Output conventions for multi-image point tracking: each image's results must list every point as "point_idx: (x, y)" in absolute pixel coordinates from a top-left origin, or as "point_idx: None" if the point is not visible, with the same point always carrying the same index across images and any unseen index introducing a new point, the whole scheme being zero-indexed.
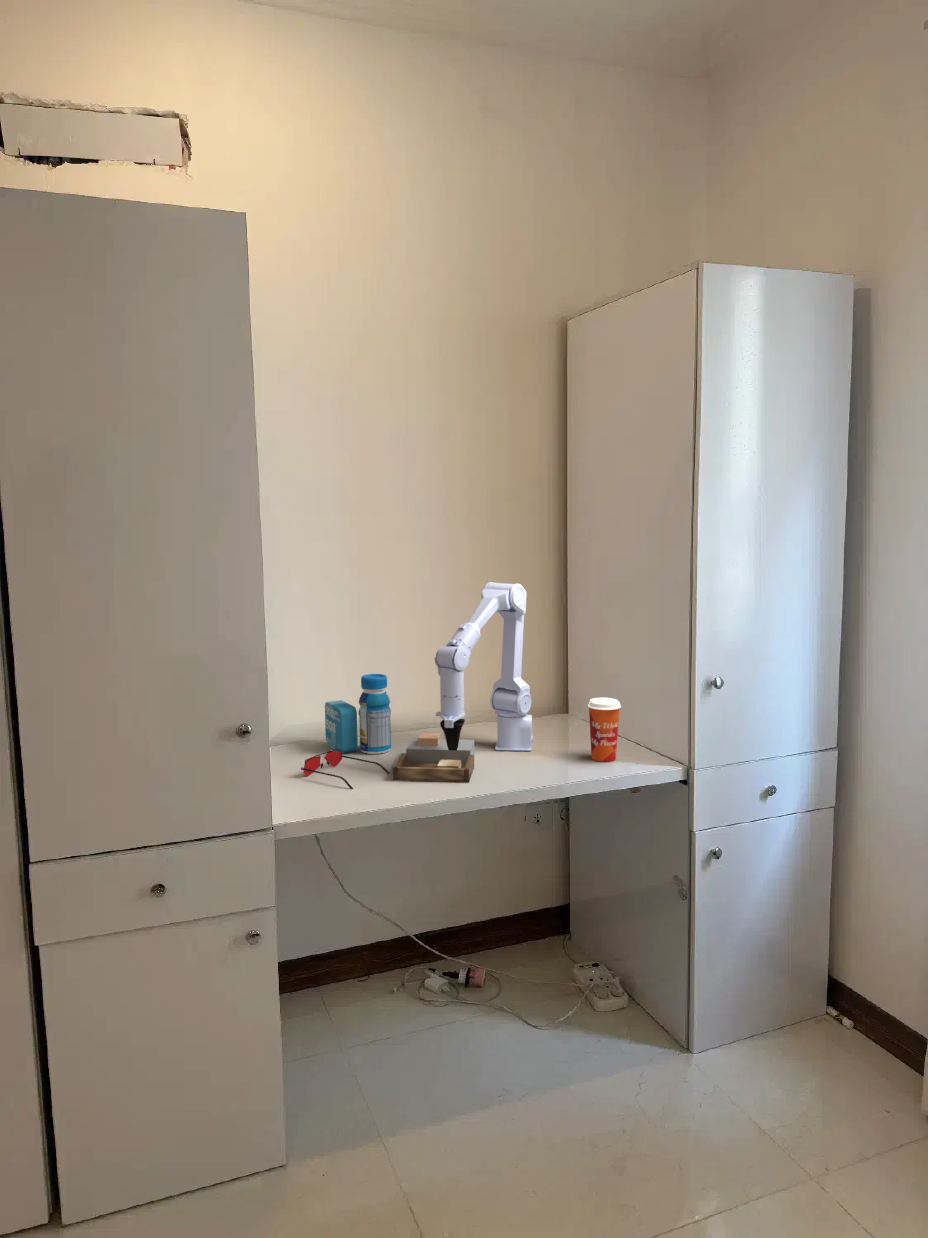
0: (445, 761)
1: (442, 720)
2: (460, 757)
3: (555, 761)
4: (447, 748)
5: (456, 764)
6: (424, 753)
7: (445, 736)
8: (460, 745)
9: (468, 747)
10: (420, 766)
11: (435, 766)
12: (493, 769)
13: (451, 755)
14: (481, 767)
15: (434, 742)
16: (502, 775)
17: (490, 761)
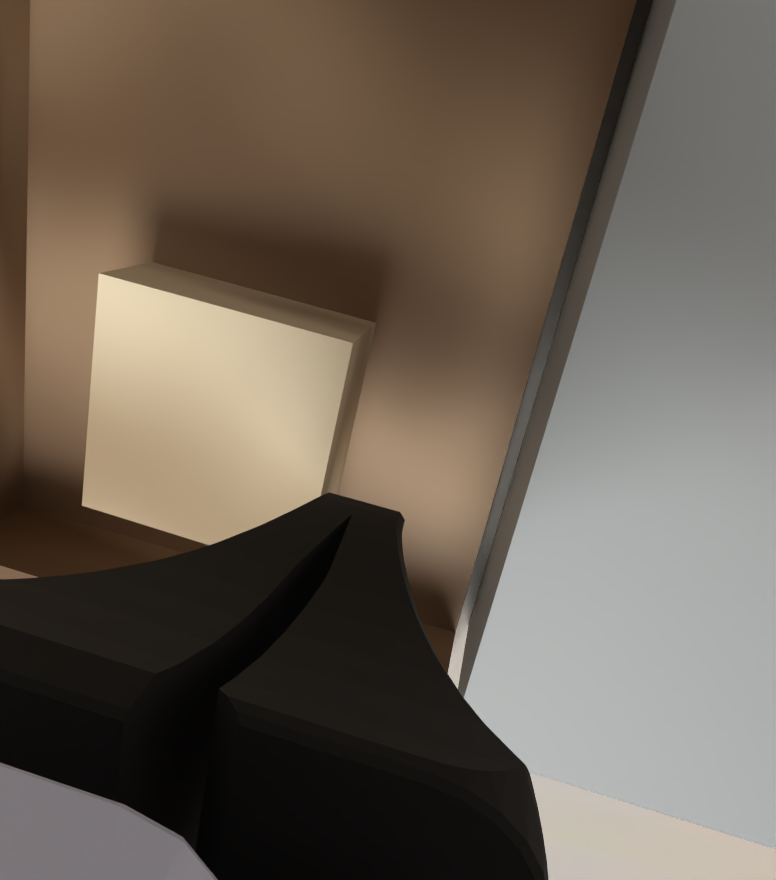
0: (258, 393)
1: (394, 787)
2: (485, 591)
3: None
4: (614, 498)
5: (139, 498)
6: (635, 111)
7: (177, 556)
8: (734, 695)
9: (596, 761)
10: (455, 54)
11: (427, 262)
12: None
13: (514, 504)
14: None
15: None
16: None
17: (599, 821)
